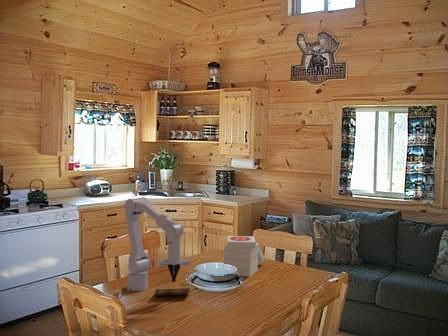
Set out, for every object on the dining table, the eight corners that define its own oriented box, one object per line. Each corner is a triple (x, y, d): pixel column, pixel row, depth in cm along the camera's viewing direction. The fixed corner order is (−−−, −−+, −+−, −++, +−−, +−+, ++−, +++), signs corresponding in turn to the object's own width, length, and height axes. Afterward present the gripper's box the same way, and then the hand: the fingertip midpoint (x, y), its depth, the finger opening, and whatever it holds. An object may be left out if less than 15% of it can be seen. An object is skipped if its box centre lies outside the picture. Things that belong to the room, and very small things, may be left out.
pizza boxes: (267, 264, 277) (268, 233, 276) (252, 278, 249) (253, 244, 248) (236, 260, 284) (237, 230, 283) (218, 273, 256) (218, 240, 254)
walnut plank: (155, 292, 209) (155, 289, 210) (154, 296, 217) (154, 293, 217) (189, 291, 212) (189, 288, 212) (187, 295, 219) (187, 292, 220)
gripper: (157, 253, 206) (157, 284, 206) (191, 253, 208) (190, 283, 209) (157, 249, 212) (156, 279, 213) (189, 249, 215) (189, 278, 216)
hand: (173, 281), depth 212 cm, fingers closed
